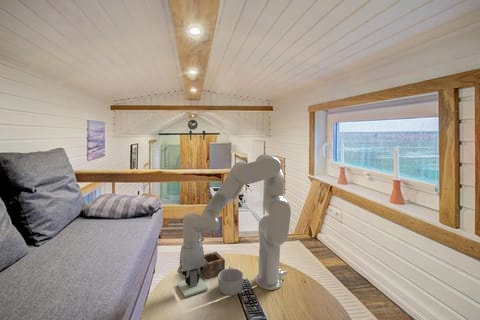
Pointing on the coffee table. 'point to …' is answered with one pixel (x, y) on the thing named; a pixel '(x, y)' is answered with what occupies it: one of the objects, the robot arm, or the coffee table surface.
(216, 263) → the brown wooden box
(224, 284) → the teacup
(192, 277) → the lid
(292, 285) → the coffee table surface
